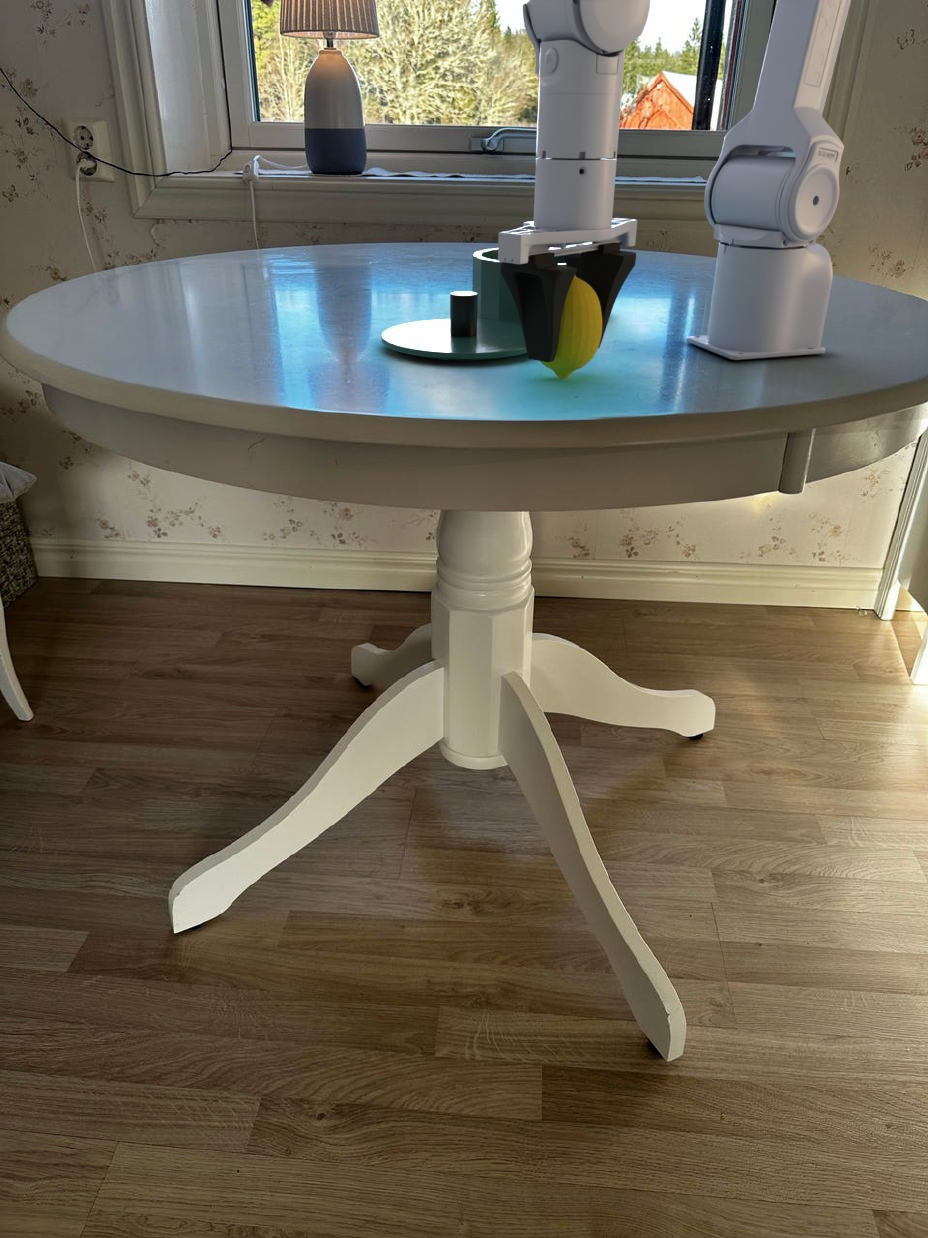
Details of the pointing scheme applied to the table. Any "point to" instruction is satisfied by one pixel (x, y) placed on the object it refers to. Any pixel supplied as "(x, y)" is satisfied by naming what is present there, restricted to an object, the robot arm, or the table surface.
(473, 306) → the lid
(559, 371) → the lemon
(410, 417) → the table surface
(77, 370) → the table surface
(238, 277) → the table surface
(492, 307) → the pot
